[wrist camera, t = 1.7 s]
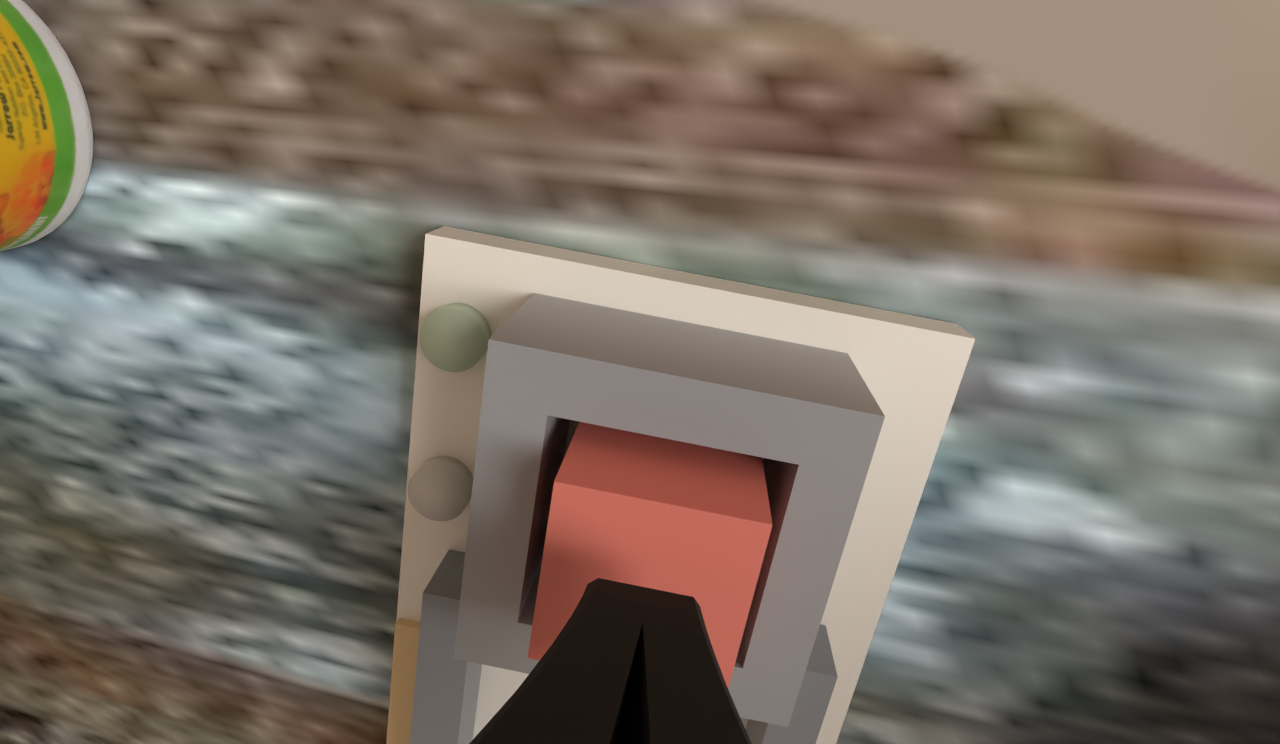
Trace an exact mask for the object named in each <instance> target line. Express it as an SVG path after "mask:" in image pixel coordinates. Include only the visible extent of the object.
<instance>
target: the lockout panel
mask: <svg viewBox="0 0 1280 744" xmlns="http://www.w3.org/2000/svg"><path fill="white" fill-rule="evenodd" d="M974 341H975V338H974V337H973V336H971V335H970V334H969V333H968V332H967V331H965V330H964V329H963V328H962V327H961V326H959V325H958V324H955V323H950V322H945V321H939V320H934V319H929V318H924V317H918V316H913V315H908V314H903V313H897V312H892V311H887V310H882V309H876V308H871V307H866V306H861V305H855V304H850V303H845V302H840V301H834V300H829V299H824V298H819V297H813V296H808V295H803V294H798V293H793V292H787V291H782V290H777V289H772V288H766V287H761V286H756V285H751V284H745V283H740V282H735V281H730V280H724V279H719V278H714V277H709V276H703V275H698V274H693V273H688V272H682V271H677V270H672V269H667V268H661V267H656V266H651V265H646V264H640V263H635V262H630V261H625V260H620V259H614V258H609V257H604V256H599V255H593V254H588V253H583V252H578V251H572V250H567V249H562V248H557V247H551V246H546V245H541V244H536V243H530V242H525V241H520V240H515V239H509V238H504V237H499V236H494V235H488V234H483V233H478V232H473V231H468V230H462V229H457V228H452V227H447V226H443V227H441V228H438V229H436V230H433V231H431V232H428V233H426V234H425V247H424V261H423V274H422V287H421V301H420V314H419V327H418V340H417V354H416V367H415V380H414V394H413V407H412V420H411V433H410V447H409V460H408V473H407V487H406V500H405V513H404V526H403V540H402V553H401V566H400V580H399V593H398V606H397V619H396V623H395V634H394V647H393V660H392V674H391V687H390V701H389V714H388V727H387V741H386V744H469V743H470V742H471V741H472V740H473V739H474V738H475V737H476V736H477V734H478V733H479V732H480V731H481V730H482V729H483V728H484V727H485V725H486V724H487V723H488V722H489V721H490V720H491V719H492V718H493V716H494V715H495V714H496V713H497V712H498V711H499V710H500V708H501V707H502V706H503V705H504V704H505V703H506V702H507V701H508V699H509V698H510V697H511V696H512V695H513V694H514V693H515V691H516V690H517V689H518V688H519V686H520V685H521V684H522V683H523V681H524V680H525V679H526V678H527V676H528V675H529V674H530V672H531V671H532V670H533V668H534V667H535V666H536V665H537V663H538V662H539V660H535V659H530V658H527V657H528V650H529V644H530V637H531V631H532V624H533V617H534V611H535V604H536V598H537V591H538V584H539V578H540V571H541V564H542V558H543V551H544V545H545V538H546V531H547V525H548V518H549V512H550V505H551V498H552V492H553V485H554V480H555V478H556V476H557V473H558V471H559V469H560V466H561V464H562V462H563V459H564V457H565V454H566V452H567V450H568V447H569V445H570V443H571V440H572V438H573V436H574V433H575V431H576V428H577V426H578V424H579V422H584V423H589V424H594V425H599V426H604V427H609V428H615V429H620V430H625V431H630V432H635V433H640V434H645V435H650V436H655V437H660V438H665V439H670V440H676V441H681V442H686V443H691V444H696V445H701V446H706V447H711V448H716V449H721V450H726V451H732V452H737V453H742V454H747V455H752V456H757V457H762V461H763V467H764V474H765V480H766V486H767V493H768V499H769V505H770V512H771V518H772V524H773V525H772V529H771V533H770V536H769V540H768V544H767V547H766V551H765V555H764V558H763V562H762V566H761V570H760V573H759V577H758V581H757V584H756V588H755V592H754V595H753V599H752V603H751V607H750V610H749V614H748V618H747V621H746V625H745V629H744V632H743V636H742V640H741V643H740V647H739V651H738V655H737V658H736V662H735V666H734V669H733V673H732V677H731V680H730V684H729V688H728V690H729V692H730V695H731V697H732V700H733V702H734V704H735V707H736V709H737V711H738V713H739V716H740V718H741V720H742V723H743V725H744V727H745V729H746V732H747V734H748V736H749V738H750V741H751V743H752V744H836V743H837V740H838V737H839V734H840V731H841V728H842V725H843V722H844V719H845V716H846V714H847V711H848V708H849V705H850V702H851V699H852V696H853V693H854V690H855V687H856V684H857V682H858V679H859V676H860V673H861V670H862V667H863V664H864V661H865V658H866V655H867V652H868V650H869V647H870V644H871V641H872V638H873V635H874V632H875V629H876V626H877V623H878V620H879V618H880V615H881V612H882V609H883V606H884V603H885V600H886V597H887V594H888V591H889V589H890V586H891V583H892V580H893V577H894V574H895V571H896V568H897V565H898V562H899V559H900V557H901V554H902V551H903V548H904V545H905V542H906V539H907V536H908V533H909V530H910V527H911V525H912V522H913V519H914V516H915V513H916V510H917V507H918V504H919V501H920V498H921V495H922V493H923V490H924V487H925V484H926V481H927V478H928V475H929V472H930V469H931V466H932V463H933V461H934V458H935V455H936V452H937V449H938V446H939V443H940V440H941V437H942V434H943V432H944V429H945V426H946V423H947V420H948V417H949V414H950V411H951V408H952V405H953V402H954V400H955V397H956V394H957V391H958V388H959V385H960V382H961V379H962V376H963V373H964V370H965V368H966V365H967V362H968V359H969V356H970V353H971V350H972V347H973V344H974Z"/></svg>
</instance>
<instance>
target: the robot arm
mask: <svg viewBox="0 0 1280 744" xmlns="http://www.w3.org/2000/svg"><path fill="white" fill-rule="evenodd" d="M469 744H752V743H751V741H750V738H749V736H748V734H747V732H746V729H745V727H744V725H743V723H742V720H741V718H740V716H739V713H738V711H737V709H736V707H735V704H734V702H733V700H732V697H731V695H730V692H729V690H728V687H727V685H726V683H725V680H724V677H723V675H722V672H721V669H720V667H719V664H718V661H717V659H716V656H715V653H714V650H713V647H712V644H711V642H710V639H709V635H708V632H707V629H706V626H705V622H704V619H703V615H702V612H701V607H700V605H699V604H698V603H697V601H696V600H695V598H694V597H691V596H686V595H681V594H676V593H671V592H666V591H661V590H656V589H651V588H646V587H641V586H636V585H631V584H626V583H621V582H616V581H611V580H606V579H601V578H597V579H595V580H593V581H592V582H590V583H588V584H587V587H586V589H585V591H584V594H583V596H582V598H581V599H580V601H579V603H578V605H577V607H576V609H575V610H574V612H573V614H572V615H571V617H570V618H569V620H568V622H567V623H566V625H565V626H564V628H563V629H562V630H561V632H560V633H559V635H558V636H557V638H556V639H555V641H554V642H553V644H552V645H551V646H550V648H549V649H548V650H547V652H546V653H545V654H544V655H543V657H542V658H541V659H540V661H539V662H538V663H537V665H536V666H535V667H534V668H533V670H532V671H531V672H530V674H529V675H528V676H527V678H526V679H525V680H524V681H523V683H522V684H521V685H520V686H519V688H518V689H517V690H516V691H515V693H514V694H513V695H512V696H511V697H510V698H509V699H508V701H507V702H506V703H505V704H504V705H503V706H502V707H501V708H500V710H499V711H498V712H497V713H496V714H495V715H494V716H493V718H492V719H491V720H490V721H489V722H488V723H487V724H486V725H485V727H484V728H483V729H482V730H481V731H480V732H479V733H478V734H477V736H476V737H475V738H474V739H473V740H472V741H471V742H470V743H469Z"/></svg>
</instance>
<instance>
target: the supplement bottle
mask: <svg viewBox="0 0 1280 744" xmlns="http://www.w3.org/2000/svg"><path fill="white" fill-rule="evenodd" d="M92 157H93V131H92V124H91V118H90V112H89V109H88V105H87V101H86V98H85V94H84V92H83V89H82V86H81V83H80V81H79V78H78V76H77V74H76V72H75V70H74V68H73V66H72V64H71V62H70V60H69V58H68V56H67V54H66V52H65V51H64V49H63V48H62V46H61V45H60V43H59V42H58V40H57V39H56V37H55V36H54V35H53V33H52V32H51V30H50V29H49V28H48V27H47V26H46V24H45V23H44V22H43V21H42V20H41V19H40V18H39V17H38V15H37V14H36V13H35V12H34V11H33V10H32V9H31V8H30V7H29V6H28V5H27V4H26V3H25V2H24V1H22V0H0V251H3V250H8V249H12V248H16V247H20V246H23V245H27V244H29V243H32V242H34V241H37V240H39V239H40V238H42V237H44V236H46V235H47V234H49V233H51V232H52V231H54V230H55V229H56V228H57V227H58V226H60V225H61V224H62V223H63V222H64V221H65V220H66V219H67V218H68V216H69V215H70V214H71V213H72V212H73V210H74V209H75V207H76V206H77V204H78V202H79V201H80V199H81V197H82V195H83V192H84V190H85V188H86V185H87V182H88V178H89V174H90V170H91V165H92Z"/></svg>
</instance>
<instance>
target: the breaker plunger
mask: <svg viewBox="0 0 1280 744" xmlns="http://www.w3.org/2000/svg"><path fill="white" fill-rule="evenodd" d="M772 525H773V524H772V518H771V512H770V505H769V499H768V493H767V486H766V480H765V474H764V467H763V461H762V457H757V456H752V455H747V454H742V453H737V452H732V451H726V450H721V449H716V448H711V447H706V446H701V445H696V444H691V443H686V442H681V441H676V440H670V439H665V438H660V437H655V436H650V435H645V434H640V433H635V432H630V431H625V430H620V429H615V428H609V427H604V426H599V425H594V424H589V423H584V422H579V424H578V426H577V428H576V431H575V433H574V436H573V438H572V440H571V443H570V445H569V447H568V450H567V452H566V454H565V457H564V459H563V462H562V464H561V466H560V469H559V471H558V473H557V476H556V478H555V480H554V485H553V492H552V498H551V505H550V512H549V518H548V525H547V531H546V538H545V545H544V551H543V558H542V564H541V571H540V578H539V584H538V591H537V598H536V604H535V611H534V617H533V624H532V631H531V637H530V644H529V650H528V657H527V658H530V659H535V660H539V661H540V659H541V658H542V657H543V655H544V654H545V653H546V652H547V650H548V649H549V648H550V646H551V645H552V644H553V642H554V641H555V639H556V638H557V636H558V635H559V633H560V632H561V630H562V629H563V628H564V626H565V625H566V623H567V622H568V620H569V618H570V617H571V615H572V614H573V612H574V610H575V609H576V607H577V605H578V603H579V601H580V599H581V598H582V596H583V594H584V591H585V589H586V587H587V584H588V583H590V582H592V581H593V580H595V579H597V578H601V579H606V580H611V581H616V582H621V583H626V584H631V585H636V586H641V587H646V588H651V589H656V590H661V591H666V592H671V593H676V594H681V595H686V596H691V597H694V598H695V600H696V601H697V603H698V604H699V605H700V607H701V612H702V615H703V619H704V622H705V626H706V629H707V632H708V635H709V639H710V642H711V644H712V647H713V650H714V653H715V656H716V659H717V661H718V664H719V667H720V669H721V672H722V675H723V677H724V680H725V683H726V685H727V687H728V688H729V684H730V680H731V677H732V673H733V669H734V666H735V662H736V658H737V655H738V651H739V647H740V643H741V640H742V636H743V632H744V629H745V625H746V621H747V618H748V614H749V610H750V607H751V603H752V599H753V595H754V592H755V588H756V584H757V581H758V577H759V573H760V570H761V566H762V562H763V558H764V555H765V551H766V547H767V544H768V540H769V536H770V533H771V529H772Z"/></svg>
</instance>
